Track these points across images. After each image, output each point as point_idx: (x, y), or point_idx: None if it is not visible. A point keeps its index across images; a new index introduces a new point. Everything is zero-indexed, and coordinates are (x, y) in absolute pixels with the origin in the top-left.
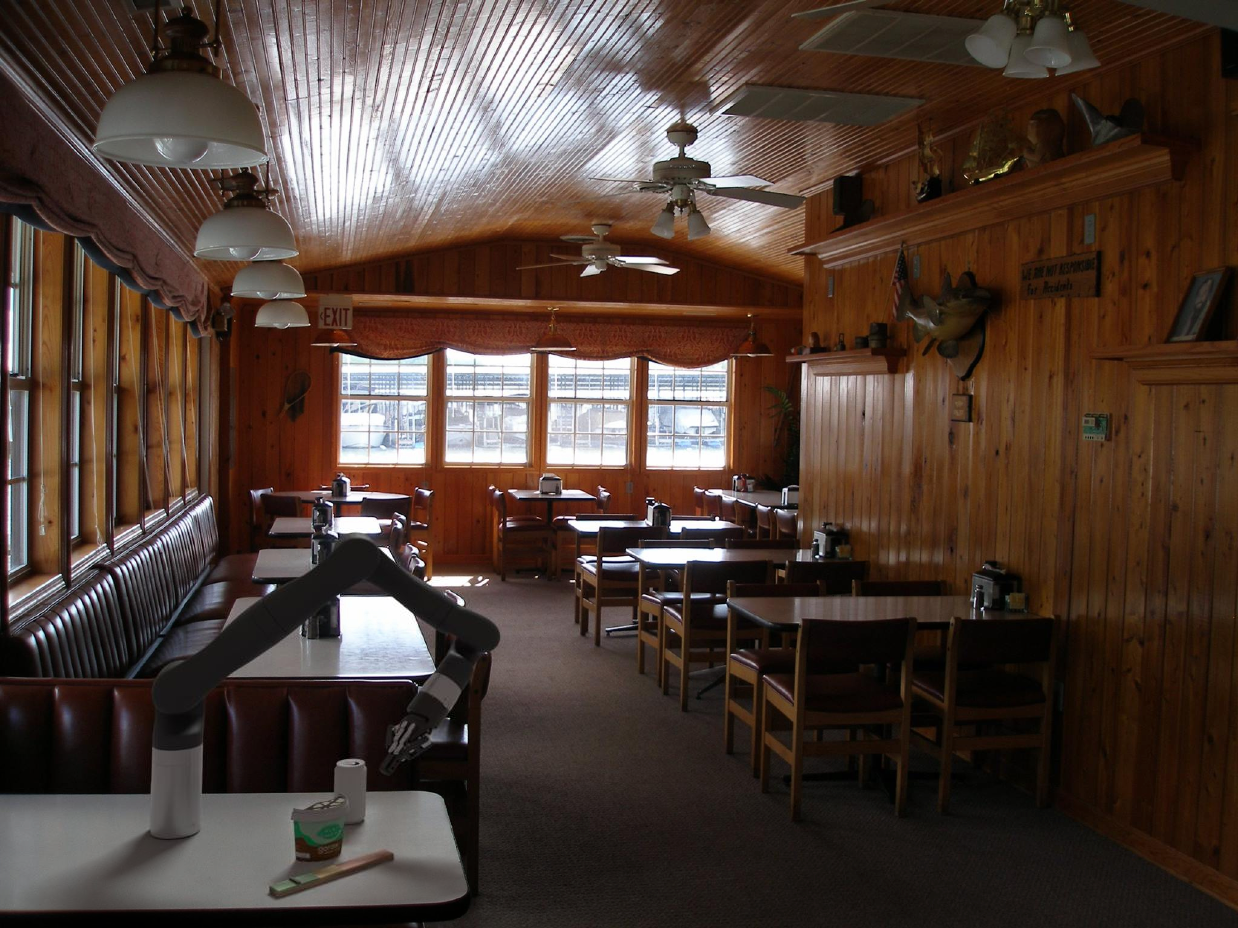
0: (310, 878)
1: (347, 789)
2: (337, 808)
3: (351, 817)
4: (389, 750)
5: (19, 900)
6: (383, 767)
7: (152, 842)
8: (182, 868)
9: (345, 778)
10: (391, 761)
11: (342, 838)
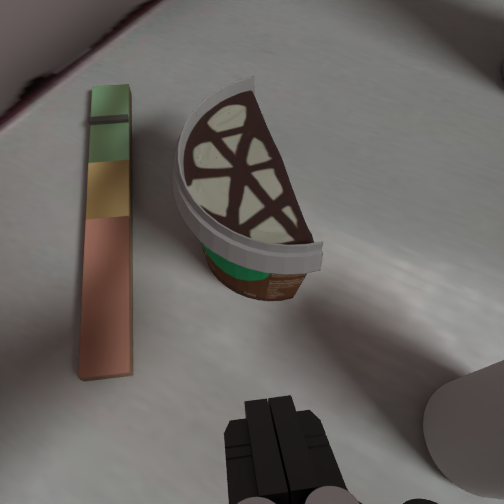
0: (99, 148)
1: (485, 380)
2: (180, 179)
3: (429, 412)
4: (344, 497)
5: None
6: (258, 405)
7: (499, 39)
8: (338, 36)
9: None
10: (252, 465)
11: (224, 273)
